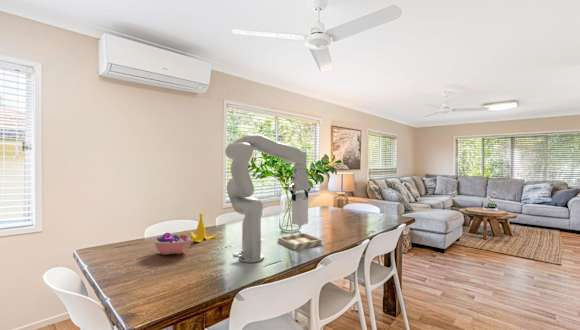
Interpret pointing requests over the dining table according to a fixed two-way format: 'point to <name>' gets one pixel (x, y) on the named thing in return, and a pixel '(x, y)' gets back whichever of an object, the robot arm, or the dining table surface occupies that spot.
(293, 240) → the serving tray
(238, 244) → the dining table surface
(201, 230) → the banana peel
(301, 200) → the milk carton
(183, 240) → the cell model
